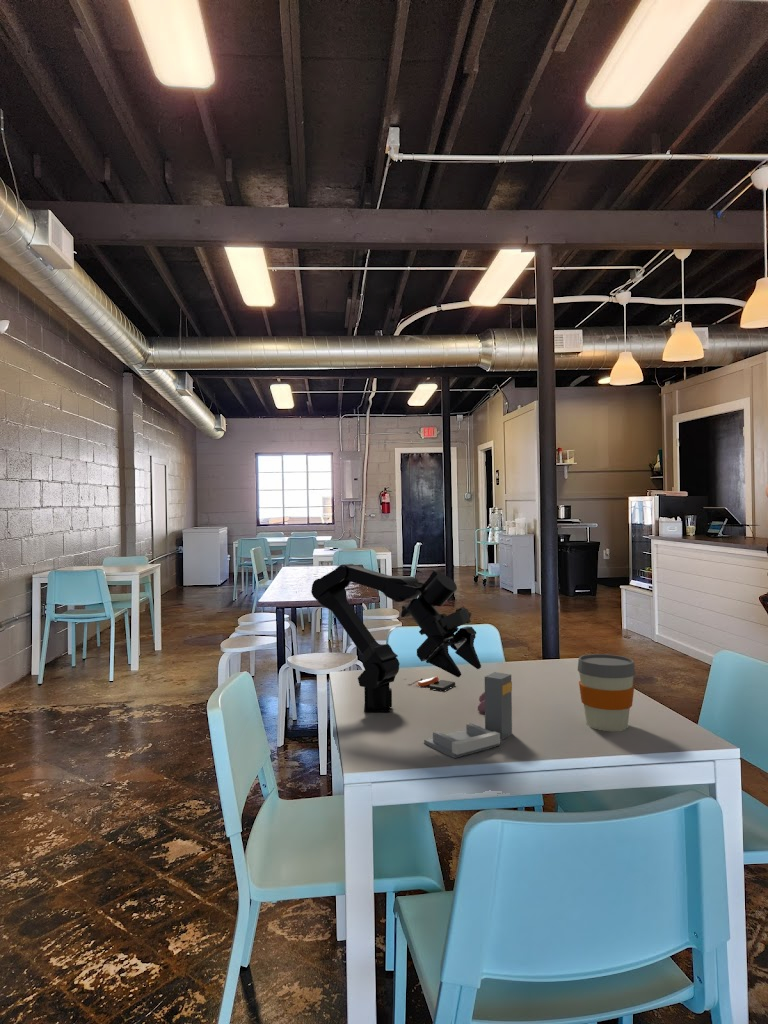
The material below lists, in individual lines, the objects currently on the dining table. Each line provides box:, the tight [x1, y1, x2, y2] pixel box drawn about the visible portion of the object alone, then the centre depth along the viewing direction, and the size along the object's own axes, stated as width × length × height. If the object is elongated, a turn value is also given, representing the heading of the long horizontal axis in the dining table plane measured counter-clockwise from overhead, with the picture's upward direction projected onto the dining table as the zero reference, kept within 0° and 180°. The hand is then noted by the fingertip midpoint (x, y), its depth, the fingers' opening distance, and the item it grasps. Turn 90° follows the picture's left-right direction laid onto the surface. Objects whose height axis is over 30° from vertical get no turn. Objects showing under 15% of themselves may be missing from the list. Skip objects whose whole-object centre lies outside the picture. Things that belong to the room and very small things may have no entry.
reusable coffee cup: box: [577, 653, 636, 732], centre depth 143 cm, size 13×13×15 cm
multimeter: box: [410, 676, 456, 692], centre depth 180 cm, size 18×12×3 cm, turn 52°
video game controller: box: [477, 691, 485, 714], centre depth 157 cm, size 10×5×7 cm, turn 169°
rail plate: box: [423, 722, 501, 759], centre depth 131 cm, size 11×12×3 cm
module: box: [484, 671, 513, 741], centre depth 137 cm, size 4×5×13 cm
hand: (470, 672), depth 142 cm, fingers open, 9 cm apart
